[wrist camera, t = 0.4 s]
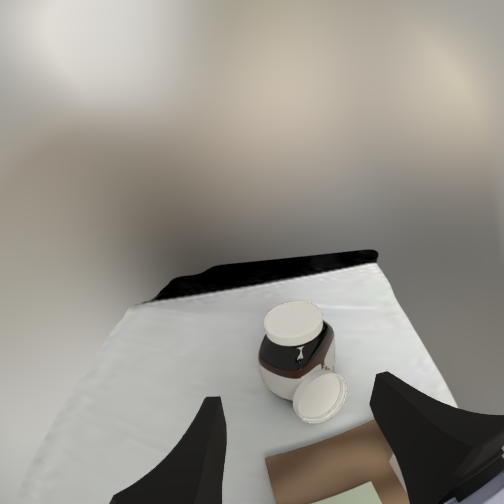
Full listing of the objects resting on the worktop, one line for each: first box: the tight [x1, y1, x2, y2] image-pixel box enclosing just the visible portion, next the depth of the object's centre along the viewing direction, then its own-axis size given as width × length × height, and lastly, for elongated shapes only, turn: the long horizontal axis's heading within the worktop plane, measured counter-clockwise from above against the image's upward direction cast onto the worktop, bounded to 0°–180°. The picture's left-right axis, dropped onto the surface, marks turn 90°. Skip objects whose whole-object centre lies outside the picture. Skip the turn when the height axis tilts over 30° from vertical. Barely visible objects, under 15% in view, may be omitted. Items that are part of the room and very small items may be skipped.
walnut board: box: [265, 419, 410, 504], centre depth 17 cm, size 18×20×1 cm
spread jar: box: [258, 301, 347, 424], centre depth 31 cm, size 12×11×12 cm
